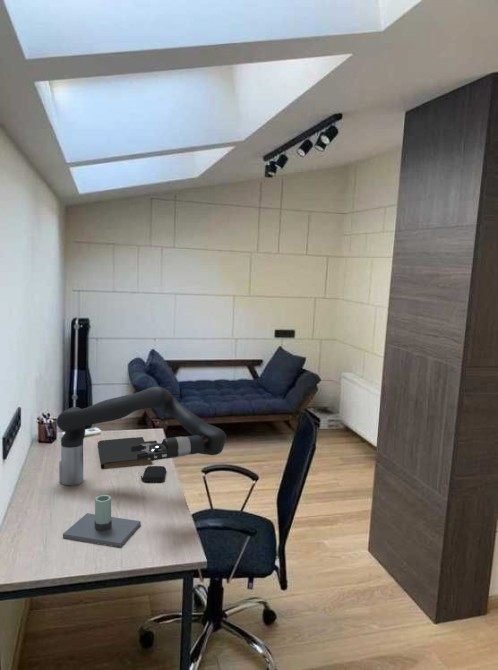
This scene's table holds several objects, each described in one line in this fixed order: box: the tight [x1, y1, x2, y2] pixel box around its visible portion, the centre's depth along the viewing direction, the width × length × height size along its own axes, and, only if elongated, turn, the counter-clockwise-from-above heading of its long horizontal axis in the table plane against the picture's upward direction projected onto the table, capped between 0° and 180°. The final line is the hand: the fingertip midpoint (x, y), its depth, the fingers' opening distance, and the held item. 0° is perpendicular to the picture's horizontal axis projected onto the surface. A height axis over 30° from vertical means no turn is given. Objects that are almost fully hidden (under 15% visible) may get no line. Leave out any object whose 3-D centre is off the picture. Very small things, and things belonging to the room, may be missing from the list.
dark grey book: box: [97, 436, 152, 470], centre depth 257 cm, size 33×4×24 cm
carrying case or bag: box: [140, 465, 167, 483], centre depth 231 cm, size 11×3×15 cm
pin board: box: [62, 512, 141, 548], centre depth 181 cm, size 22×16×6 cm
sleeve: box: [94, 494, 112, 531], centre depth 181 cm, size 6×6×11 cm
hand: (134, 452), depth 183 cm, fingers open, 8 cm apart
